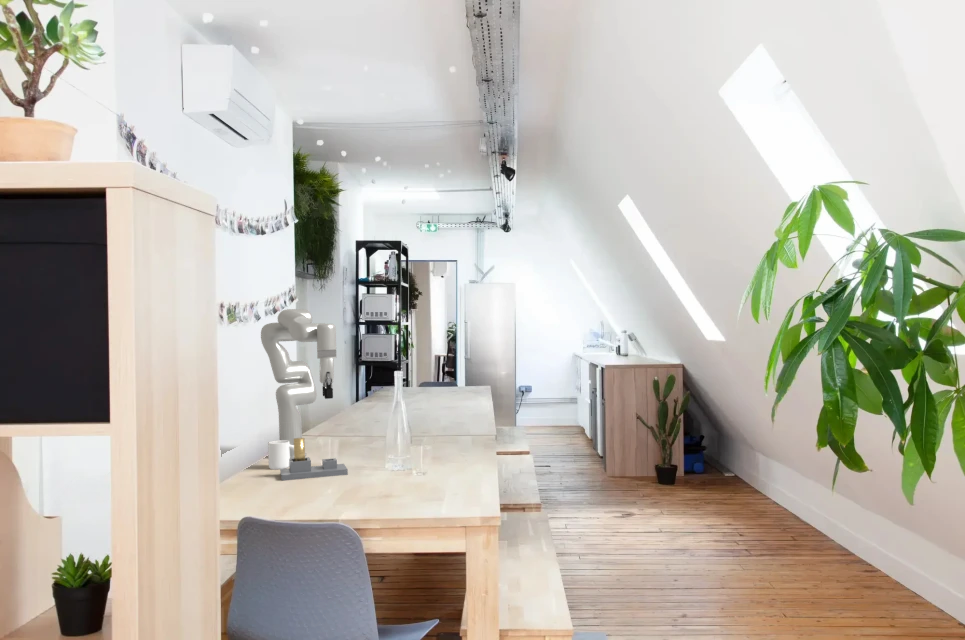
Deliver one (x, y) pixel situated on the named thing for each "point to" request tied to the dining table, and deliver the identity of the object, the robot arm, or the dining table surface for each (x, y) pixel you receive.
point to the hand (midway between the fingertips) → (327, 397)
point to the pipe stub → (299, 449)
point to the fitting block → (312, 469)
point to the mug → (279, 454)
